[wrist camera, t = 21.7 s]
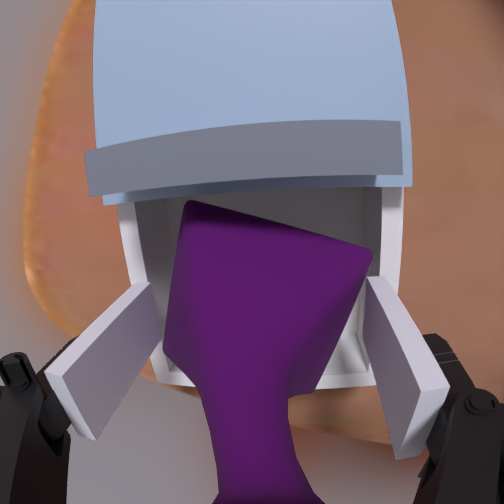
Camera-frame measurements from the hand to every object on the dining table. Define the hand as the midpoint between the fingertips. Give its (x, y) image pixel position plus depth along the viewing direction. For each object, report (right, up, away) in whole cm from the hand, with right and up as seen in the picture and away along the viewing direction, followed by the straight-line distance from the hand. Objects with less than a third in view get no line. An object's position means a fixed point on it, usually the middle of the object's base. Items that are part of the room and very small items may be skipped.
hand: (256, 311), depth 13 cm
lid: (-1, +13, -3) cm, 14 cm away
